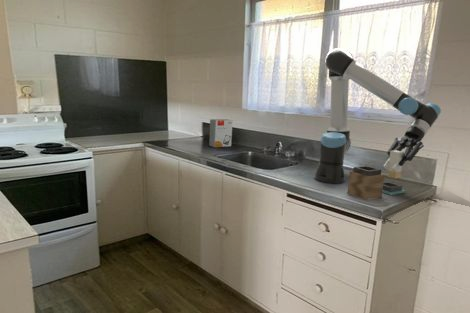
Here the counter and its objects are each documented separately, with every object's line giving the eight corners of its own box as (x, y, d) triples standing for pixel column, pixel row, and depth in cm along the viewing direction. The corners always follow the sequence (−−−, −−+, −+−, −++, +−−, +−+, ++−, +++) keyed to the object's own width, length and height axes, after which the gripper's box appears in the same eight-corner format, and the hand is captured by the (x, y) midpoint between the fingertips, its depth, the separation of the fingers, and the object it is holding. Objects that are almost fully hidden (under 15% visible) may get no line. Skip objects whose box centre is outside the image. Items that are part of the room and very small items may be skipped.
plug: (387, 176, 157) (390, 150, 155) (392, 175, 159) (396, 150, 157) (394, 178, 154) (398, 152, 152) (400, 177, 156) (404, 151, 153)
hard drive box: (214, 147, 249) (214, 120, 245) (208, 145, 255) (209, 119, 251) (231, 146, 258) (232, 119, 254) (226, 144, 264) (227, 118, 260)
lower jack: (371, 188, 159) (372, 182, 159) (385, 186, 164) (386, 180, 164) (390, 195, 151) (391, 188, 150) (404, 192, 156) (405, 186, 155)
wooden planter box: (347, 192, 152) (350, 166, 149) (362, 190, 157) (365, 165, 154) (365, 199, 143) (369, 172, 141) (381, 196, 148) (385, 170, 146)
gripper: (437, 139, 153) (409, 178, 149) (402, 134, 168) (376, 169, 163) (432, 128, 150) (404, 167, 145) (397, 123, 164) (370, 159, 159)
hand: (389, 168), depth 154 cm, fingers closed on plug, 4 cm apart
